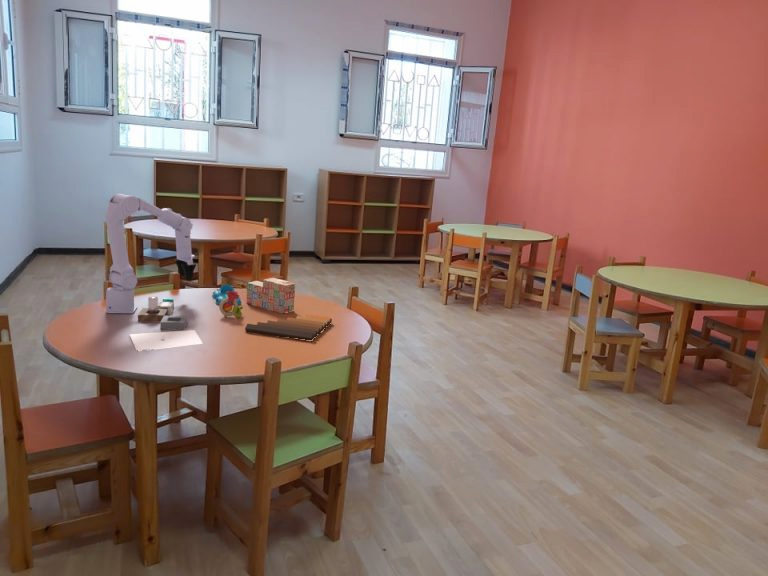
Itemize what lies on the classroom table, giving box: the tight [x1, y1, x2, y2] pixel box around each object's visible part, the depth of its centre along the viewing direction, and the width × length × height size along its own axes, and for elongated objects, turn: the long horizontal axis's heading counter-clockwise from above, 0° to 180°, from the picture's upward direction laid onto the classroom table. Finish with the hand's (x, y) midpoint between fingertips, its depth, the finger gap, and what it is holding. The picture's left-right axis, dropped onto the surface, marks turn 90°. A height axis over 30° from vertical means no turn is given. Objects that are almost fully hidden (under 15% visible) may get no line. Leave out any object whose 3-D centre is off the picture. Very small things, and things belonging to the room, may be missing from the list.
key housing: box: [158, 301, 174, 316], centre depth 220 cm, size 5×6×3 cm
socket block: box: [137, 307, 169, 323], centre depth 212 cm, size 9×9×2 cm
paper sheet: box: [129, 329, 204, 352], centre depth 185 cm, size 24×29×1 cm
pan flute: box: [244, 314, 333, 340], centre depth 215 cm, size 25×3×25 cm
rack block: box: [159, 315, 188, 330], centre depth 206 cm, size 8×8×2 cm
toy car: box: [211, 283, 242, 306], centre depth 245 cm, size 11×18×7 cm, turn 23°
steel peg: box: [147, 295, 159, 313], centre depth 212 cm, size 3×3×8 cm
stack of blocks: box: [246, 277, 296, 314], centre depth 239 cm, size 21×6×12 cm, turn 58°
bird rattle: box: [218, 290, 244, 318], centre depth 221 cm, size 6×11×9 cm
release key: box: [162, 297, 175, 309], centre depth 225 cm, size 4×7×3 cm, turn 12°
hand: (186, 277), depth 237 cm, fingers open, 7 cm apart
